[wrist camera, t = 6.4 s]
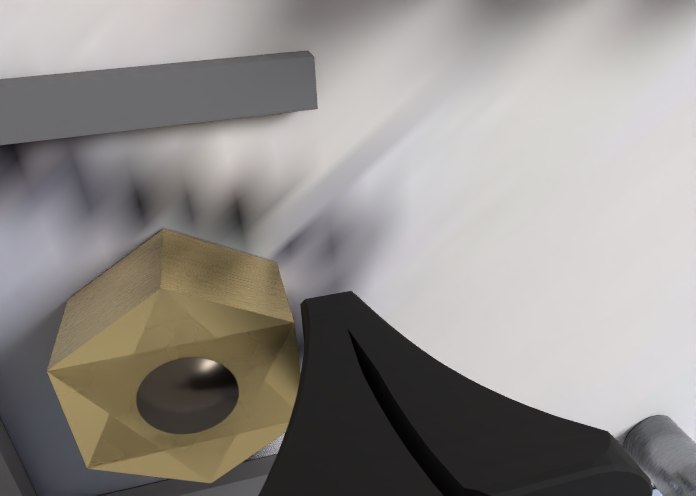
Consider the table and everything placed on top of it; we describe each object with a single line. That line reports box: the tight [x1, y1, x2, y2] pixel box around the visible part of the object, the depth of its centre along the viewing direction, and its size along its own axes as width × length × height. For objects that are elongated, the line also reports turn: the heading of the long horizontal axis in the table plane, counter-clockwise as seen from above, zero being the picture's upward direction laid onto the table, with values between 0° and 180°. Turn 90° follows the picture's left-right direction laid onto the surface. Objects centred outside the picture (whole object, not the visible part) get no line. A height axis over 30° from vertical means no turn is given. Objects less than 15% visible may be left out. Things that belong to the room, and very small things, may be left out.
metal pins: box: [624, 415, 696, 496], centre depth 14 cm, size 19×10×4 cm, turn 3°
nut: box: [47, 229, 301, 483], centre depth 13 cm, size 5×5×2 cm
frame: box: [0, 51, 318, 496], centre depth 13 cm, size 12×9×1 cm
